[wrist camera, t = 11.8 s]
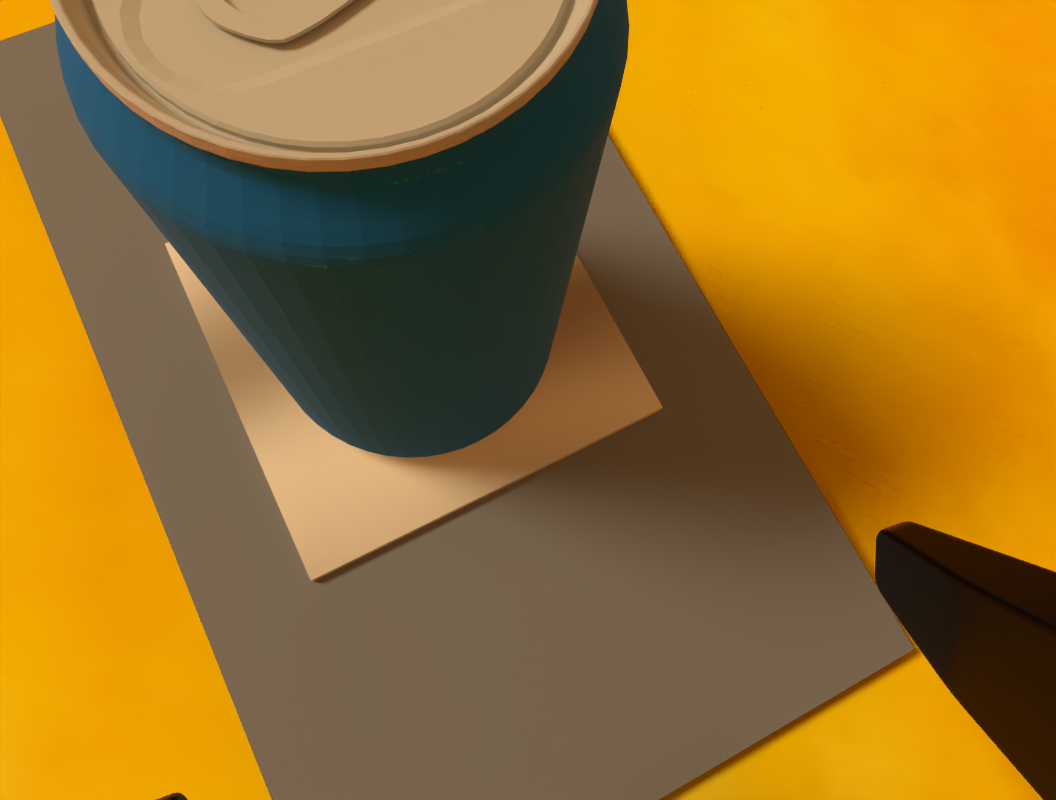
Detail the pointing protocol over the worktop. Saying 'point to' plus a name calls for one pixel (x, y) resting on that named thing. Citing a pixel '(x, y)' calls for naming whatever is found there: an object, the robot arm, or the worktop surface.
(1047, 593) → the robot arm
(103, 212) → the mat
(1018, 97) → the worktop surface
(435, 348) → the beverage can
